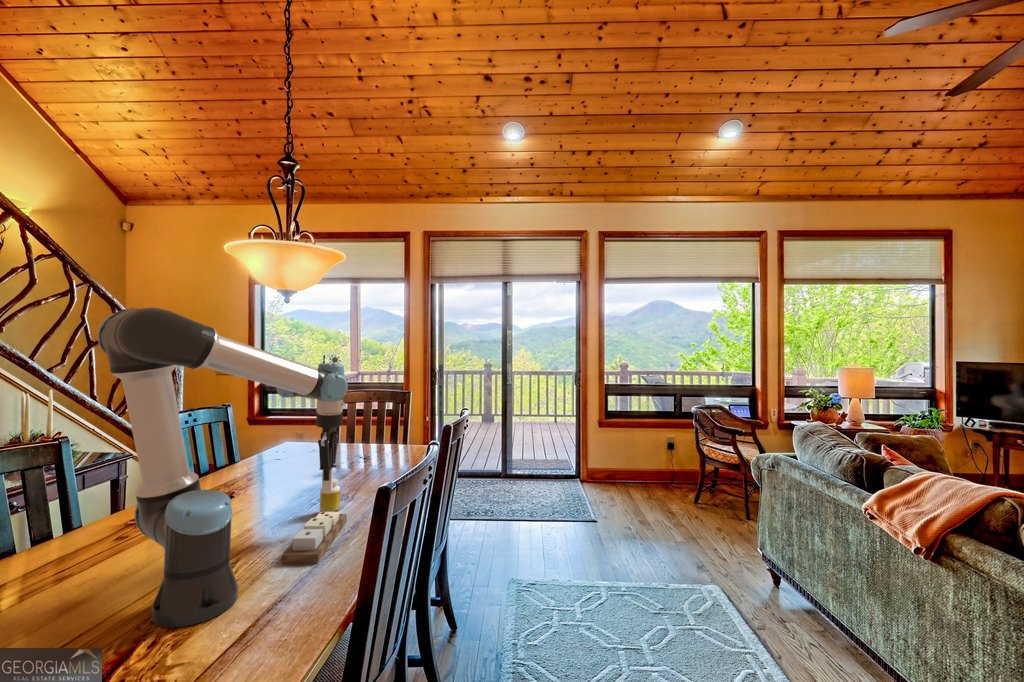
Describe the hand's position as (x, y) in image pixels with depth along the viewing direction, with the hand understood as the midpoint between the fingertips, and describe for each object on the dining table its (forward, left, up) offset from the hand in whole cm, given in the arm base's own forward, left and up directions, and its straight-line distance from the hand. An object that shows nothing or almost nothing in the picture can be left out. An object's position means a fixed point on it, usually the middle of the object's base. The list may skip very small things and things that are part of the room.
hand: (327, 490), depth 135 cm
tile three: (0, 0, -11) cm, 11 cm away
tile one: (-16, 0, -10) cm, 19 cm away
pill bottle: (+13, +3, -12) cm, 18 cm away
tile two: (-8, 0, -10) cm, 13 cm away
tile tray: (-8, 0, -12) cm, 14 cm away
